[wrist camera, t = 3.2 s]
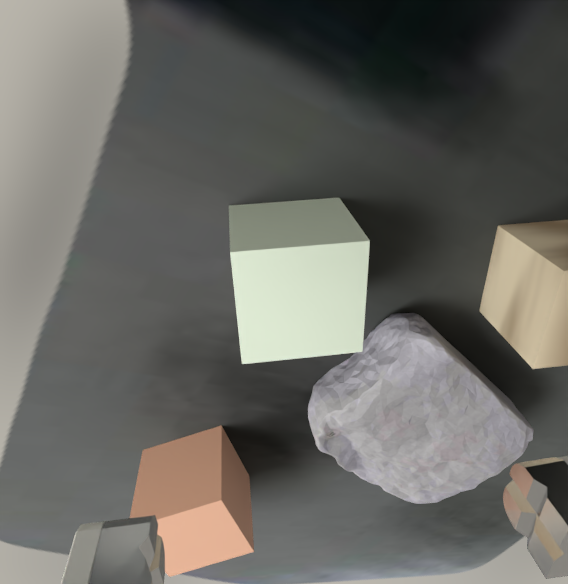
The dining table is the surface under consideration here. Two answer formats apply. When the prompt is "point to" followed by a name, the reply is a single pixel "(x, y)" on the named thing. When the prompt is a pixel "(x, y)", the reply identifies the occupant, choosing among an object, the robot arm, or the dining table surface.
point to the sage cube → (298, 279)
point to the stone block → (415, 415)
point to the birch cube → (530, 290)
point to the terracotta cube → (196, 500)
